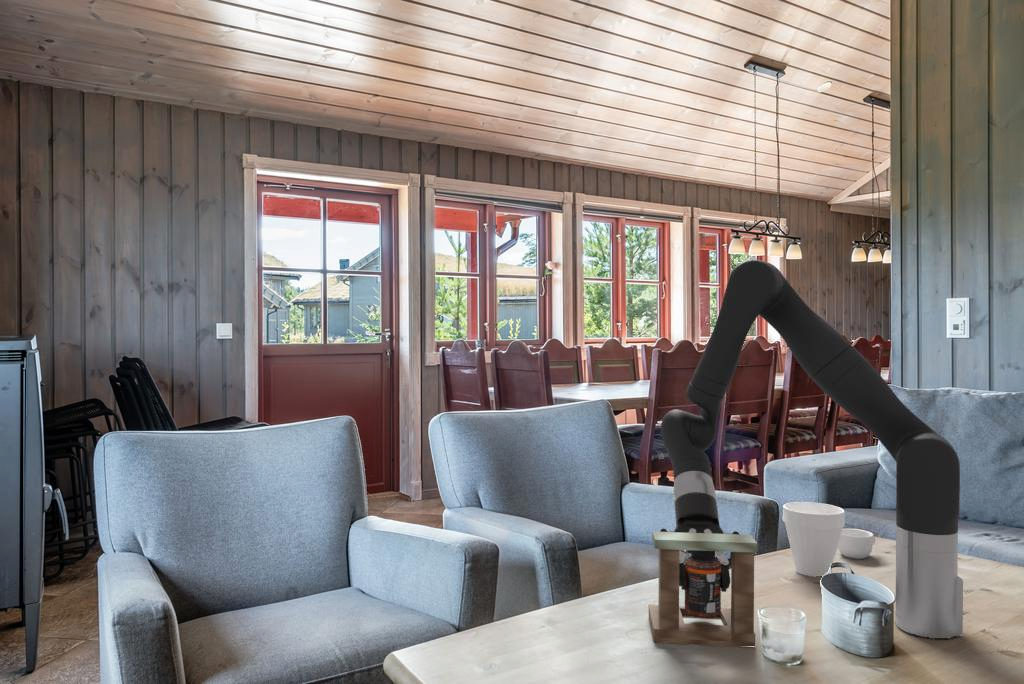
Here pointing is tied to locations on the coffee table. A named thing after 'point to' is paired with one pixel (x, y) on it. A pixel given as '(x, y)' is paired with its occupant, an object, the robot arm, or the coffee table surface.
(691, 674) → the coffee table surface
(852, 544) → the teacup
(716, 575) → the supplement bottle
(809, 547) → the white flower pot
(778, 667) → the coffee table surface
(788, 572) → the coffee table surface
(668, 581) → the socket stand
